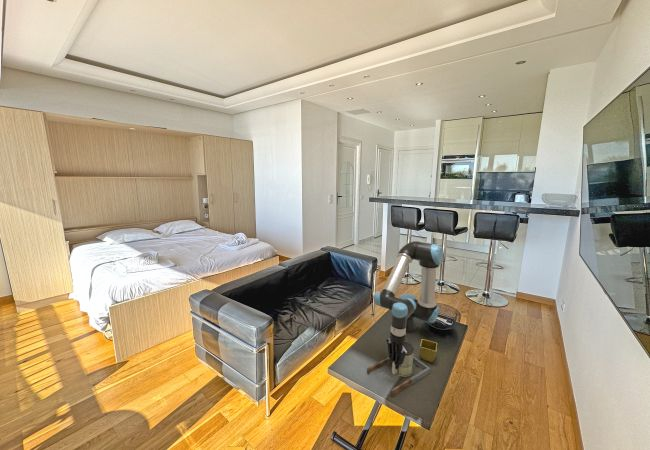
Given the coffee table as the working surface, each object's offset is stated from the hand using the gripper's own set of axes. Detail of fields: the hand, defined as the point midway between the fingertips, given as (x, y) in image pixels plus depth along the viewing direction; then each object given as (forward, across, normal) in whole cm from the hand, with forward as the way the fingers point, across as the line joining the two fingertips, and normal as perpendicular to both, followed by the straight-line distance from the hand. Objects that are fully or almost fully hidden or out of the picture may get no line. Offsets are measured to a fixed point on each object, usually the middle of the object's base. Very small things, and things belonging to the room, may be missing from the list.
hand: (394, 372), depth 138 cm
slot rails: (+2, 0, -4) cm, 5 cm away
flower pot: (+2, +1, +26) cm, 27 cm away
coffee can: (+2, 0, +6) cm, 7 cm away
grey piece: (+2, 0, +10) cm, 10 cm away
